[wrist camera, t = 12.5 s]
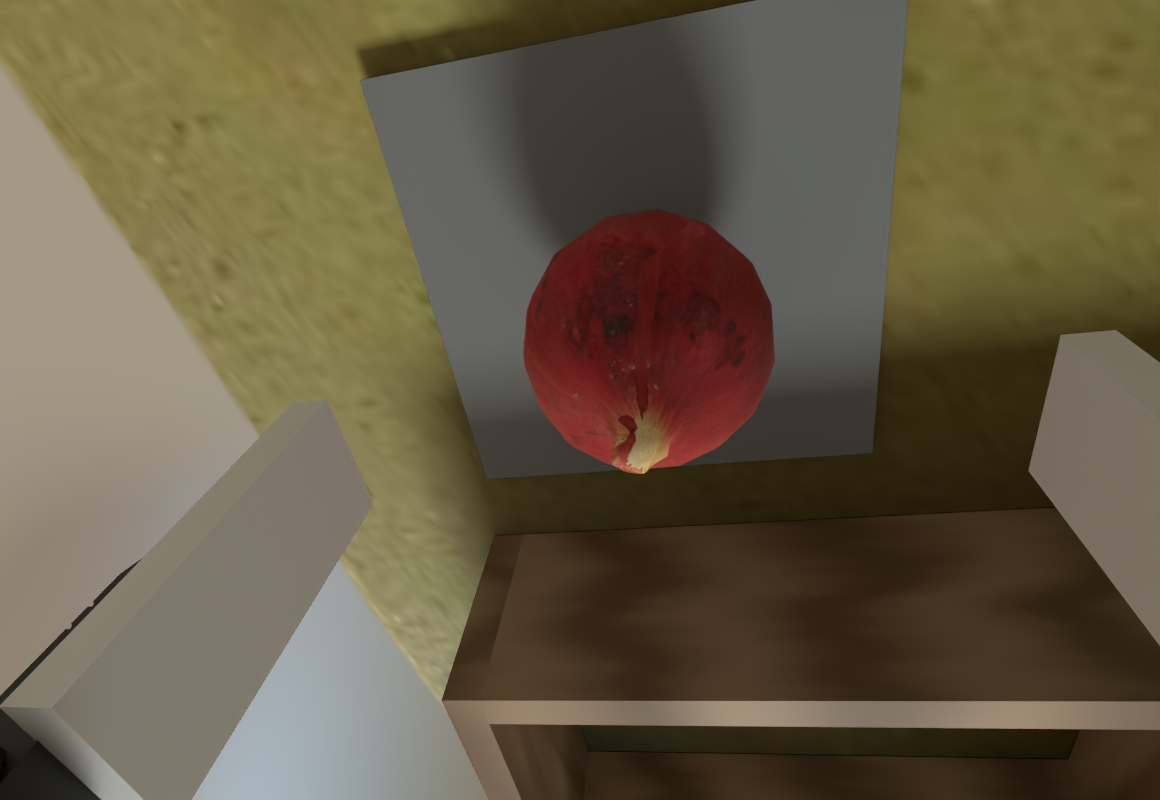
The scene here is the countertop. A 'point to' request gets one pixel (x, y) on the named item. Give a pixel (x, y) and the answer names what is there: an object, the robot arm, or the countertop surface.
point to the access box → (806, 658)
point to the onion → (649, 340)
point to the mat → (662, 199)
